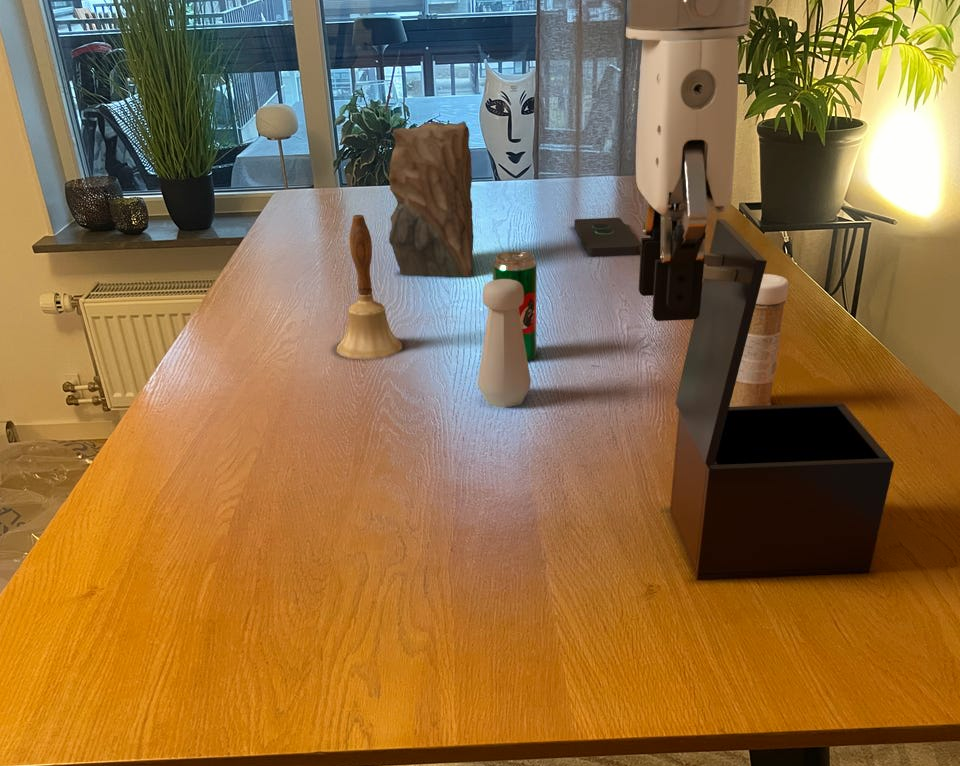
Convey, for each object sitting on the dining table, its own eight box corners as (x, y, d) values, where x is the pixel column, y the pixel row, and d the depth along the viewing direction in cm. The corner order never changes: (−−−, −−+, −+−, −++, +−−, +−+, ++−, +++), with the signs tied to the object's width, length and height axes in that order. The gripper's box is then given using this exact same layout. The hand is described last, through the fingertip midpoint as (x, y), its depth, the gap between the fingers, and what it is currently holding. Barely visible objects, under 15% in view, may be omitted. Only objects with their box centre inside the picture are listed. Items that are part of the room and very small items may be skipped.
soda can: (539, 352, 123) (540, 250, 117) (532, 366, 119) (532, 262, 113) (499, 350, 124) (497, 249, 118) (490, 364, 120) (488, 261, 114)
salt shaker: (484, 415, 108) (480, 292, 100) (473, 395, 112) (469, 276, 105) (536, 409, 109) (537, 287, 101) (524, 390, 113) (523, 272, 106)
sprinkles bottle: (737, 396, 110) (753, 270, 102) (777, 404, 108) (796, 276, 100) (720, 410, 107) (734, 281, 99) (760, 418, 105) (778, 287, 97)
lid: (725, 219, 74) (663, 213, 74) (767, 261, 65) (696, 253, 64) (683, 404, 82) (627, 399, 82) (714, 464, 73) (651, 459, 73)
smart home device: (620, 216, 174) (641, 245, 157) (620, 226, 175) (640, 256, 158) (572, 218, 173) (588, 247, 157) (572, 228, 174) (588, 258, 158)
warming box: (823, 507, 88) (843, 402, 83) (868, 576, 79) (894, 462, 73) (669, 514, 88) (678, 408, 83) (696, 583, 79) (709, 469, 73)
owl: (389, 278, 152) (378, 132, 141) (411, 256, 162) (402, 118, 151) (471, 280, 150) (466, 132, 139) (487, 258, 160) (484, 118, 149)
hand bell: (416, 348, 126) (407, 213, 117) (365, 366, 121) (352, 227, 112) (373, 334, 131) (362, 204, 122) (323, 351, 126) (307, 216, 117)
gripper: (788, 14, 55) (749, 343, 65) (718, -2, 69) (695, 271, 79) (651, 20, 55) (634, 348, 65) (608, 3, 69) (600, 275, 79)
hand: (667, 303), depth 72 cm, fingers closed on lid, 5 cm apart
